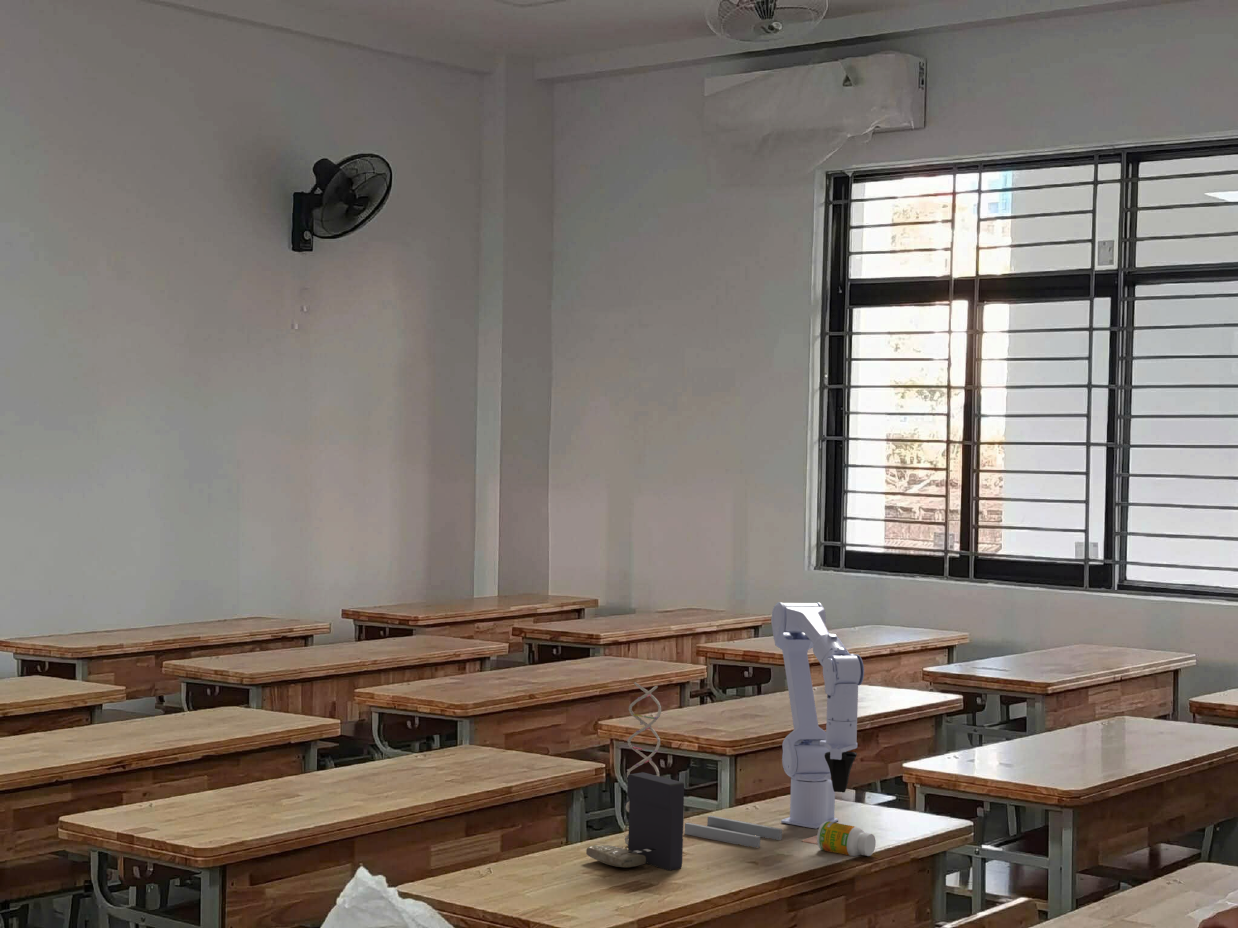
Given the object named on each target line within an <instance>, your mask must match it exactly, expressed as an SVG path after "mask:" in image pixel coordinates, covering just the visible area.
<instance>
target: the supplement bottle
mask: <svg viewBox="0 0 1238 928" xmlns="http://www.w3.org/2000/svg"><path fill="white" fill-rule="evenodd" d="M816 835H817V843H818V844H817V846H818V848H819V849H820V850H821V851H825V852H829V853H835V854H840V855H843V856H844V855H845V856H849V857H858V856H860V855H862V856H867V857H871V856H872V855H873V853H874V852H875V849H876V843H877V841H876V836H875V835H874V834H873V833H870V832H865V831H864V829H862V828H861V827H858V826H854V825H848V824H844V823H839V822H829V821H826V822H824V823H822V825H821V826H820V828H818V830H817V834H816Z"/></svg>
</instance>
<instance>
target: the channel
mask: <svg viewBox="0 0 1238 928" xmlns="http://www.w3.org/2000/svg"><path fill="white" fill-rule="evenodd" d="M706 823H707V824H706V825H703V824H697V823H692V822H686V823H685V822H684V835H687V836H693V837H699V838H703V839H709V840H712V841H713V840H714V841H719V842H724V843H728V844H734V845H738V844H741V845H740V846H743V845H744V847H749V846H752V847H751V848H755V847H758V848H760V847H761V838H764V837H765V838H766V839H769V838H772V839H771V840H775V839H776V840H777V841H780V840H782V839H783V828H779V827H773V826H768V825H763V824H757V823H754V822H753V823H752V822H748V821H741V820H736V819H732V818H725V817H721V816H717V815H708V816H707V822H706ZM755 835H756V836H755Z"/></svg>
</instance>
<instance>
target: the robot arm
mask: <svg viewBox="0 0 1238 928" xmlns="http://www.w3.org/2000/svg"><path fill="white" fill-rule="evenodd" d="M826 616H827V615H826V610H825V607H824V606H823V604H822V603H821V602H819V601H817V602H782V601H777V602H776V603H775V605H774V606H773V608H772V612H771V622H770V623H771V629H772V635H773V641H774V645H775V646H776V647H777V648H779V649H780V650H781V652H782V656H783V662H784V669H785V671H784V672H785V678H786V684H787V692H788V698H789V704H790V705H789V706H790V710H791V711H790V712H791V717H792V724H793V730H792V731H791V732H789V733H788V734H787V735H786V736H785V738H784V739H783V741H782V744H781V745H782V756H781V758H782V759H781V761H782V763H781V764H782V767H783V770H784V773H785V774H786V775H787V776H788V777H789V778H790V797H789V798H790V802H789V816H788V817H786V818H782V819H781V820H780V822H781V823H783V824H787V825H792V826H800V827H804V828H805V827H806V828H808V829H809V828H810V829H815V830H817V829H819V828H820V826H821V825H822V823H824V822H826V821H829V822H834V823H837V822H839V818H837V817H835V808H836V807H835V806H836V805H835V803H836V801H835V800H836V793H846V791H847V788H848V784H849V778H850V774H851V769H852V767H853V763H854V761H855V759H856V757H857V756H858V753H857V752H855V751H852V750H855V749H857V748H858V742H857V741H858V740H857V738H858V737H857V736H858V734H857V733H858V710H859V709H858V705H859V699H858V698H859V686H861V684H863V682H864V677H865V665H864V662H863V659H862V657H861V656H860V654H857V653H856V654H855V653H850V652H849V651H848V649H847V647H846V646H845V645H844V643H843V642H842V640H841V639H840V638H839V637H838V635H836V634H835V633H830V632H829V630H828V627H827V626H826V622H827V621H826V619H827V618H826ZM811 649H812V653H813V654H814V656H815V657H816V659H817V660H818V662H819V664H820V666H821V667H822V677H823V681H824V694H826V697H827V698H826V723H825V725H826V729H825V730H824V729H823V728H822V727H820V726H819V720H818V715H817V707H816V702H815V695H814V689H813V688H814V687H813V682H812V675H811V667H810V663H809V655H808V652H809V650H811Z"/></svg>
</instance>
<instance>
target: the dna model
mask: <svg viewBox="0 0 1238 928" xmlns="http://www.w3.org/2000/svg"><path fill="white" fill-rule="evenodd" d="M633 684H634V685H635V686H636V687H637V688H638V689H640V690H641V691H643V693H644V694H642V695H641V696H638V697H637V698H636V699H635V700H634V701H632V702H631V703H630V704H629V706H628V711H629V713H630V716H632V717H633V718H635V719H636V720H638V722H639V724H640V725H641V726H642V725H644V726H643V727H641V728H640V729H639V730H635V732H634V733H633V734H631V735H630V736H629V737H628V739H627V747H629V748H630V749H632V750H633V751H634V752H636V754H638V755H639V756H640V757H642V758H643V759H642V760H640V761H639V762H637V763H636V764H634V765H632V767H630V768H628V769H626V771H627V772H626V778H627V779H628V775H629V774H631V772H632V771H633V770H635V769H637V768H638V767H640V766H642V765H643V764H646V763H648V762H649V764H650V765H651V766H652V768H653V769H654V770H655V773H656V774H655V775H656V776H660V771H659V767H658V766H657V765H656V763H655V762H654V761H653V759H652V757H654V756H655V754H656V753H657V752H658V750H659V749H660V747H661V738H660V736H659V735H658V732H657V731H656V730H655V729H654V728H653V727H652V725H653V724H655V722H657V720H658V719H659V718H660V716H661V714H662V706H661V703H660V701H659V700H658V699H657V698H656V697H655V695H653V692H654V691H655V690H657V689H658V687H659V686H658V685H655V686H653V687H652V688H651V689H649V690H648V689H646V688H644V687H643V686H642V685H640V684H639V683H637V682H636V681H634V682H633ZM649 697H650V698H651V699H652V700H653V702H655V703H656V706H657V708H658V710H657V713H656V716H654V717H653V716H646V715H641V714H637V713H634V711H633V710H632V709H633V707H634V706H635V705H636V704H637V703H638V702H640V701H642V700H643V699H645V698H649ZM642 718H646V719H651V721H649V723H647V722H646V721H645V720H644V719H642ZM647 730H650V731H651V732H652V734H653V735H654V736H655V738H656V740H657V744H656V746H655V748H654V750H652V749H647V748H645V749H644V751H645V752H650V754H649V755H648V756H647V755H645V754H644V753H643V752H641V751H642V750H643V748H642V747H637V746H634V745H633V744H632V743H631V741H632V739H633V738H635V737H636V736H638V735H640V734H641V733H642V732H644V731H647ZM625 810H626V811H627V813H629V801H628V802H626V805H625ZM628 836H629V833H628V834H627V835H626V836H625V838H624V843H625V844H626V845H627V846H628Z"/></svg>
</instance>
